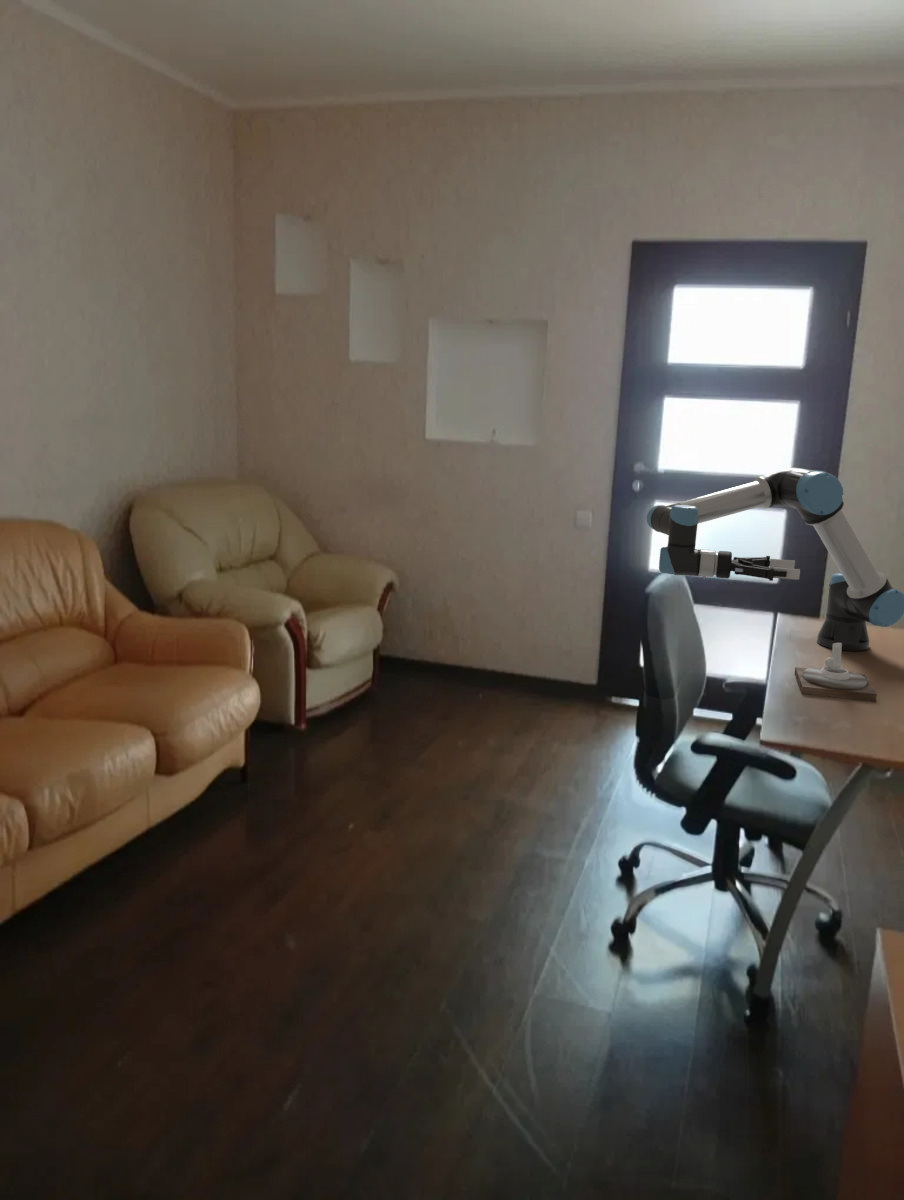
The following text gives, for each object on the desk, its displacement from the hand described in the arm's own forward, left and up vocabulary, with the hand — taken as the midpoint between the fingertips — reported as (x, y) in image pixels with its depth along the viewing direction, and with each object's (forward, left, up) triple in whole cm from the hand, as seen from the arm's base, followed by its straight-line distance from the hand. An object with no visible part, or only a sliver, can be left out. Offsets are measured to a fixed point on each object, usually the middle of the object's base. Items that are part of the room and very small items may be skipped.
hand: (797, 569), depth 245 cm
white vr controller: (+6, +12, -27) cm, 30 cm away
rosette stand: (+7, +12, -30) cm, 33 cm away
